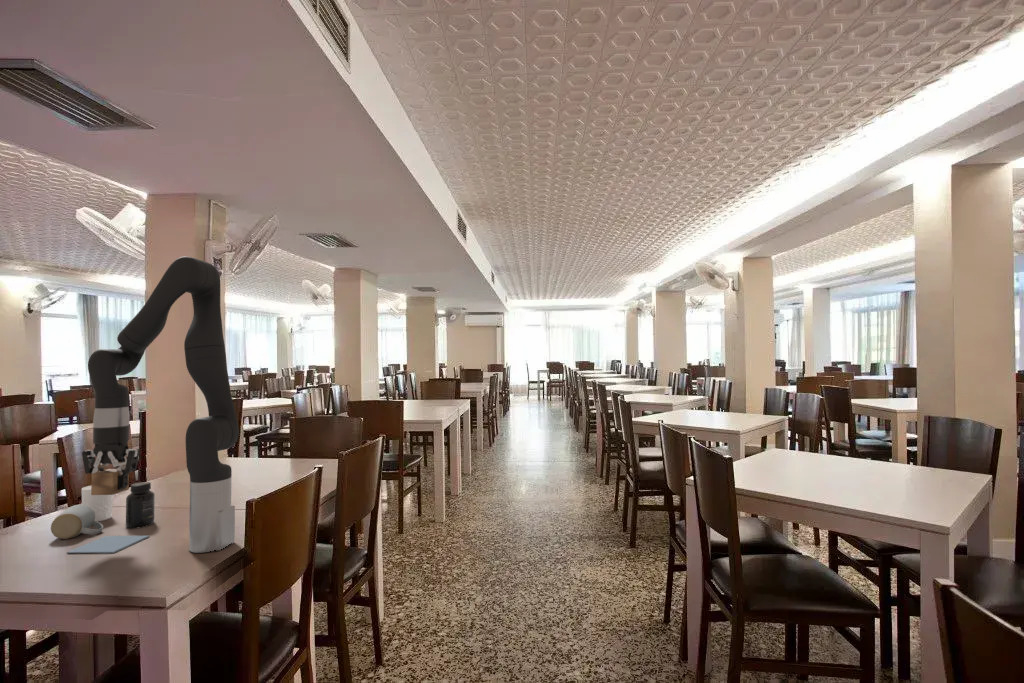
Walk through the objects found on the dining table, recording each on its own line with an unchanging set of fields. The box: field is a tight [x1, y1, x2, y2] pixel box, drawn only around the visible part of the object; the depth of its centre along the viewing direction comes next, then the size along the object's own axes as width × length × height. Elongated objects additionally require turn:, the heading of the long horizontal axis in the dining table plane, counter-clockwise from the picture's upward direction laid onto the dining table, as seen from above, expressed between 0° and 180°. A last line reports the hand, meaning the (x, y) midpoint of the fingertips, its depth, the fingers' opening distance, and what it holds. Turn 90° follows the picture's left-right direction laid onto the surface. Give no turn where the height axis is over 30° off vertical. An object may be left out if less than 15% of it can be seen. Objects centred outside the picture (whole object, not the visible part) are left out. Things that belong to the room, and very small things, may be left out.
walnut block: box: [90, 468, 130, 495], centre depth 133 cm, size 6×6×6 cm
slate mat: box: [66, 535, 150, 554], centre depth 133 cm, size 12×12×1 cm
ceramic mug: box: [50, 504, 104, 540], centre depth 142 cm, size 11×8×8 cm
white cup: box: [81, 485, 115, 522], centre depth 157 cm, size 8×8×10 cm
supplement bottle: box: [125, 481, 156, 529], centre depth 150 cm, size 7×7×12 cm
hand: (110, 489), depth 133 cm, fingers closed on walnut block, 5 cm apart
